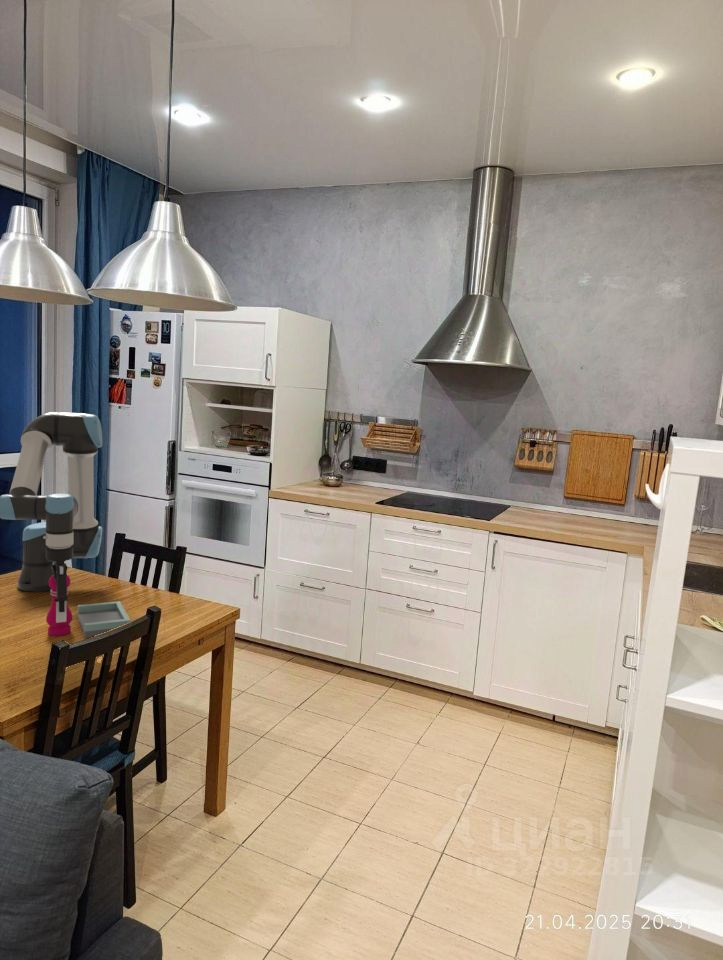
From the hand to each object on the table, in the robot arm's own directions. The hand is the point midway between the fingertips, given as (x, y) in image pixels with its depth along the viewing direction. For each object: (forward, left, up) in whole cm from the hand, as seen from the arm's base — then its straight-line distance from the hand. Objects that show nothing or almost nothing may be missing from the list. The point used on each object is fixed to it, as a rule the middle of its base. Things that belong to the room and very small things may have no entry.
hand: (59, 614), depth 200 cm
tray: (-3, +13, -6) cm, 14 cm away
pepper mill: (0, 0, -6) cm, 6 cm away
